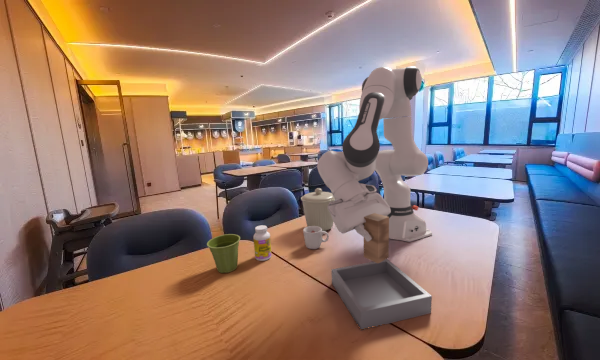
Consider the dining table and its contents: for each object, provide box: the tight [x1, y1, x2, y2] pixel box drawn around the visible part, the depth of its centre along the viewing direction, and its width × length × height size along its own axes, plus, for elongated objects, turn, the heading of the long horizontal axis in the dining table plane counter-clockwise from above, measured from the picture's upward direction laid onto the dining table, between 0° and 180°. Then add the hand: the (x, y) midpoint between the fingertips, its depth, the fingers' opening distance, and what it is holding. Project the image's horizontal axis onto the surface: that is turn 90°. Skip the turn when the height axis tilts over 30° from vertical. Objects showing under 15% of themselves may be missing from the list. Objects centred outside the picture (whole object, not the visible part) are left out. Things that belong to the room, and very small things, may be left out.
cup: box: [302, 226, 330, 250], centre depth 104 cm, size 11×8×8 cm
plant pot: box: [206, 233, 241, 274], centre depth 90 cm, size 12×12×11 cm
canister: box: [300, 187, 336, 232], centre depth 124 cm, size 18×18×21 cm
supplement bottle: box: [252, 224, 272, 262], centre depth 97 cm, size 7×7×13 cm
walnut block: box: [363, 213, 390, 263], centre depth 68 cm, size 5×5×12 cm
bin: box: [331, 258, 433, 330], centre depth 70 cm, size 20×20×5 cm
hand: (378, 236), depth 67 cm, fingers closed on walnut block, 5 cm apart
